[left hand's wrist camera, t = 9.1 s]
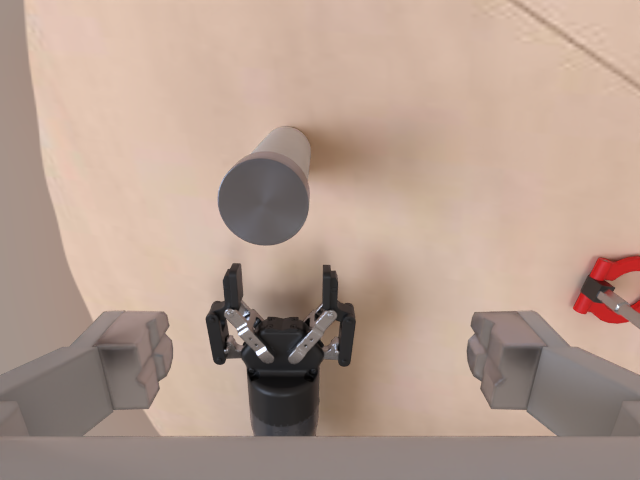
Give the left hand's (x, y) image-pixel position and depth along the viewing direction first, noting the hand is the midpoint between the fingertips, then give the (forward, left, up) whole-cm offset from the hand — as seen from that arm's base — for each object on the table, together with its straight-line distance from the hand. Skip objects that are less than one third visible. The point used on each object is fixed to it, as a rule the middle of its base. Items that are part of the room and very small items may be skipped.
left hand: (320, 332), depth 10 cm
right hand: (+9, -6, -24) cm, 26 cm away
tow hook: (+24, +29, -30) cm, 48 cm away
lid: (0, -3, -13) cm, 14 cm away
